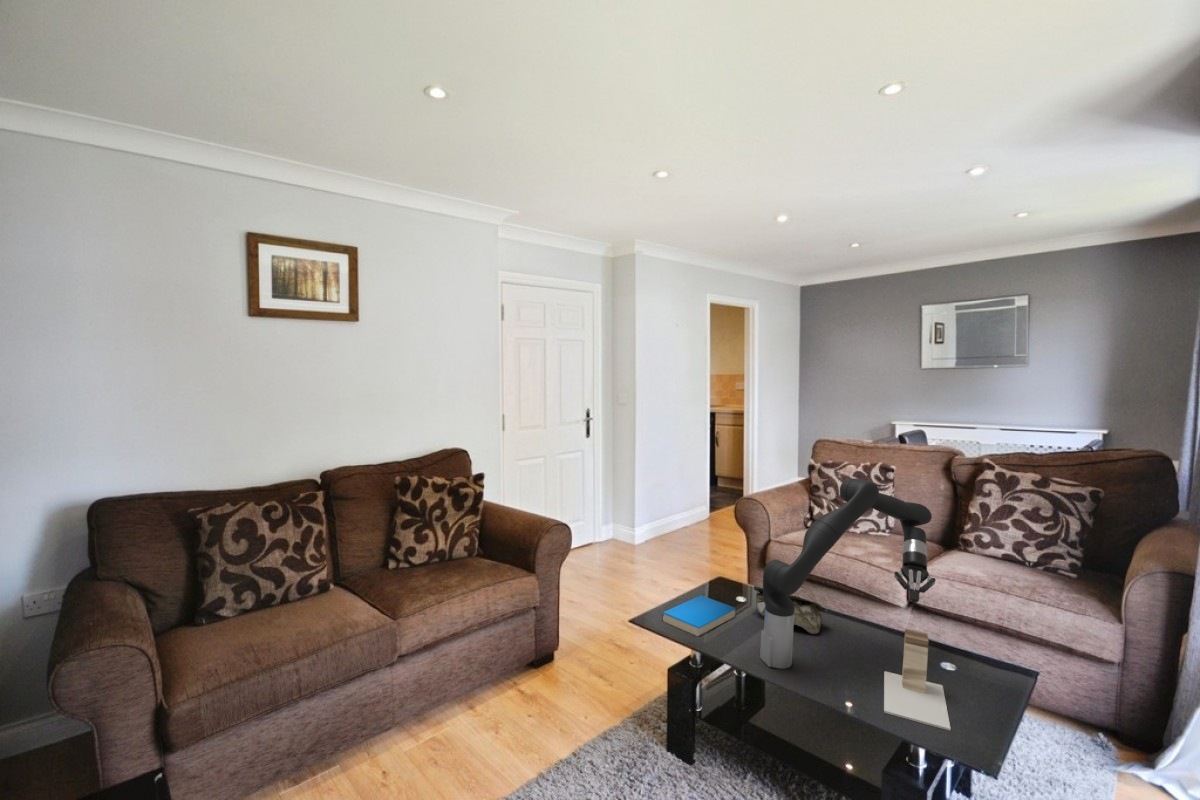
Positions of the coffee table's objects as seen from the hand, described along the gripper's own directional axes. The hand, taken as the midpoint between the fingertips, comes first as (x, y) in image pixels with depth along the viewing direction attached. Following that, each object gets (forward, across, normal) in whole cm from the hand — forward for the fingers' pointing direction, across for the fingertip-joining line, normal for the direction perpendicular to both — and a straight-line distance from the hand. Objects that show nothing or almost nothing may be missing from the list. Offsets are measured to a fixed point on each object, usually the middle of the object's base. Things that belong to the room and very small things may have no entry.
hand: (914, 601), depth 185 cm
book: (+20, -72, +10) cm, 75 cm away
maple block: (+27, 0, 0) cm, 27 cm away
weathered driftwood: (+8, -42, +20) cm, 47 cm away
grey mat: (+33, 0, -4) cm, 33 cm away
